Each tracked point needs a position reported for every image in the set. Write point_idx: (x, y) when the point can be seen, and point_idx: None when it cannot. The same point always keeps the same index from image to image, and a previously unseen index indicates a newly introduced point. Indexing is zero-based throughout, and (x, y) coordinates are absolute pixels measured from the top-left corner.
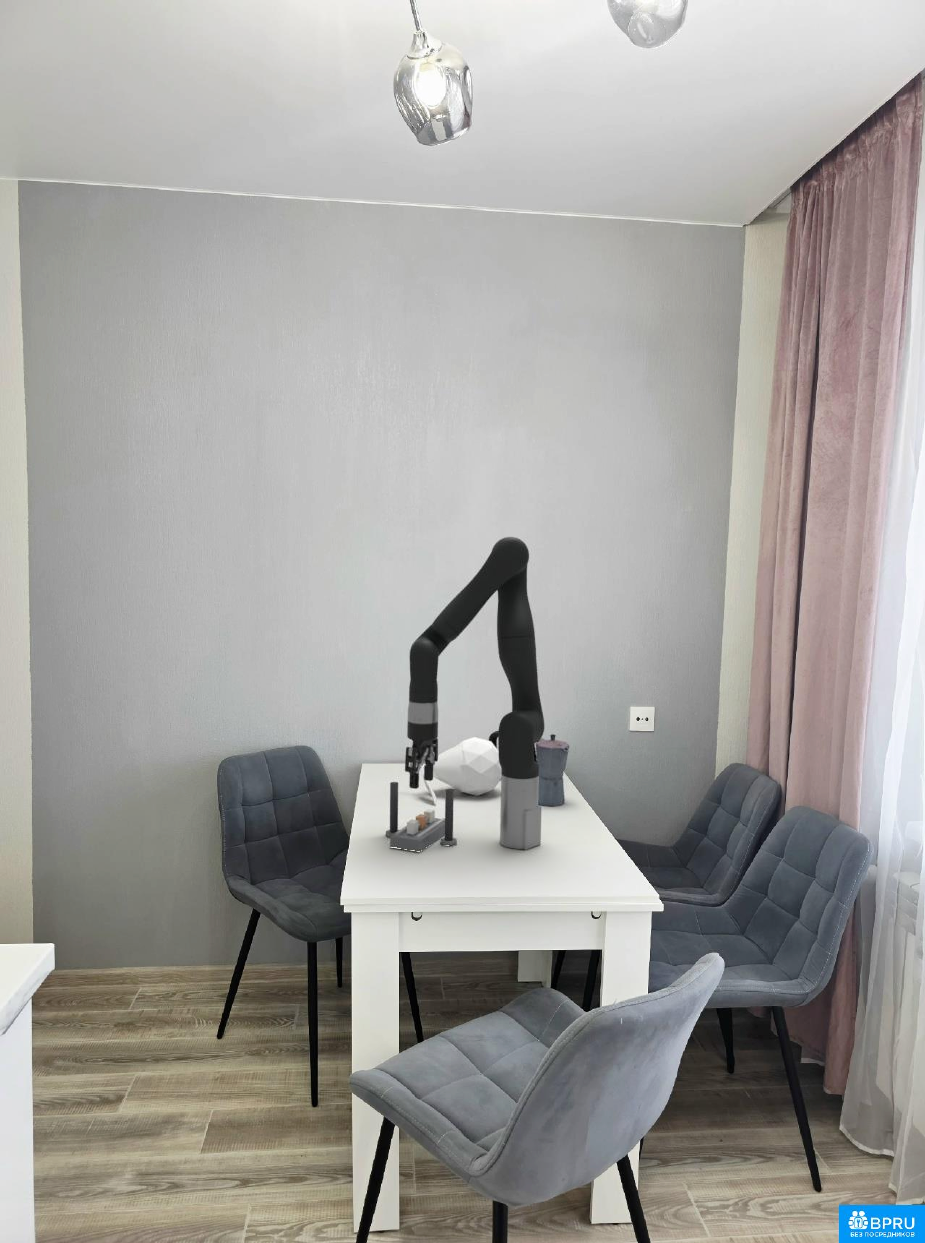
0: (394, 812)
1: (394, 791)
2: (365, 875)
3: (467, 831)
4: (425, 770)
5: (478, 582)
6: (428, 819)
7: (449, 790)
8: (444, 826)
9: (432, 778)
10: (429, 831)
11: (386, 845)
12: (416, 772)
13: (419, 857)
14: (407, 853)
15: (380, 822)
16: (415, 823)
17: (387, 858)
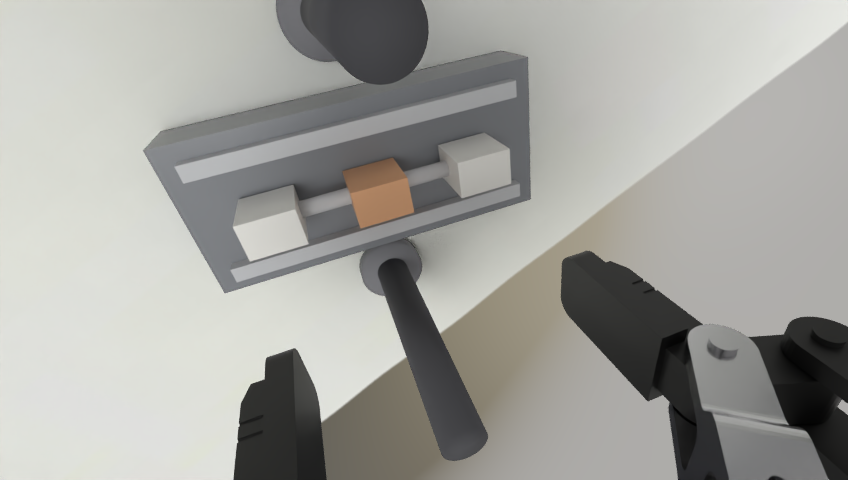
0: (427, 312)
1: (464, 391)
2: (746, 68)
3: (56, 51)
4: (322, 468)
5: None
6: (299, 201)
7: (411, 9)
8: (230, 125)
9: (280, 361)
10: (397, 107)
11: None
12: (736, 336)
13: (546, 18)
14: None
15: None
16: (487, 152)
17: (596, 117)
